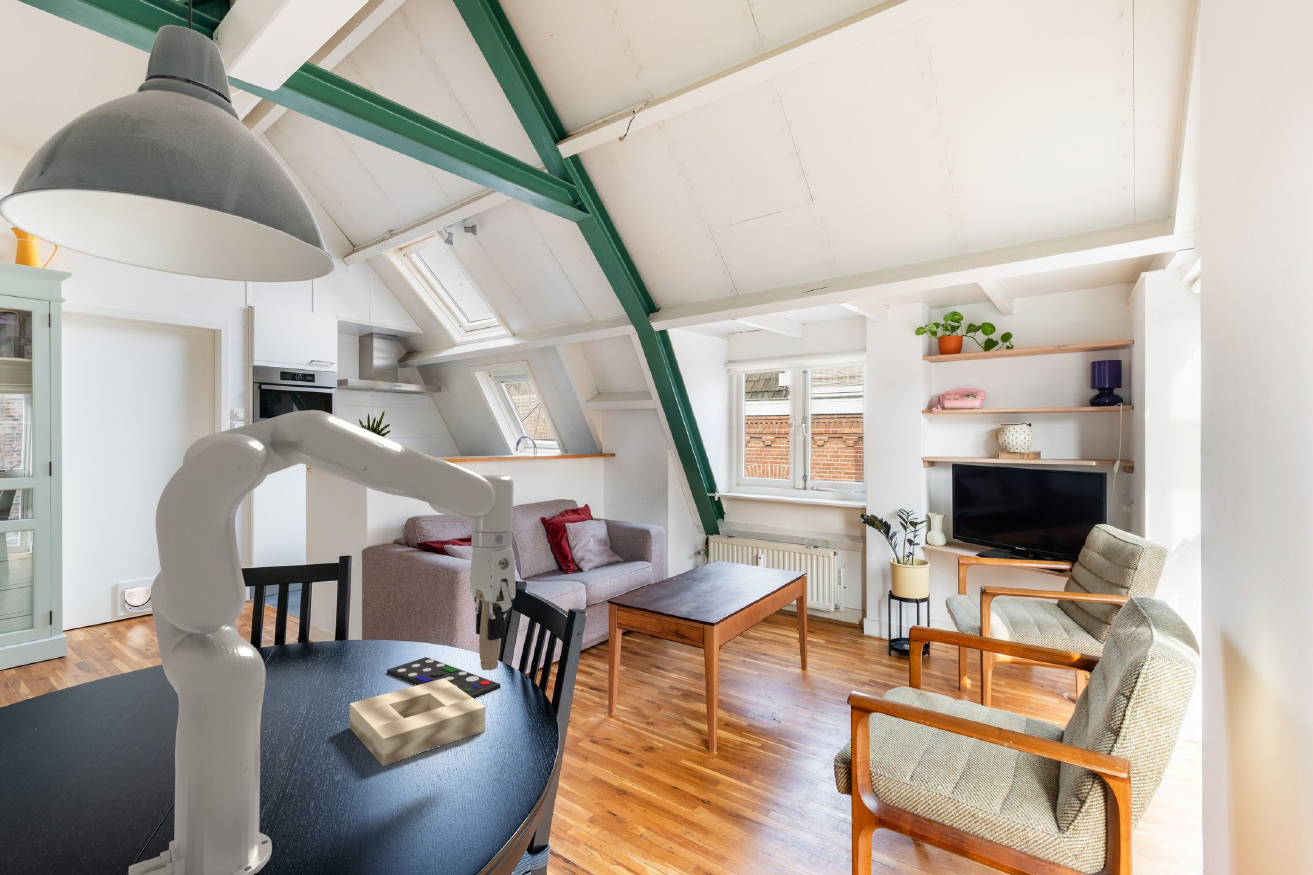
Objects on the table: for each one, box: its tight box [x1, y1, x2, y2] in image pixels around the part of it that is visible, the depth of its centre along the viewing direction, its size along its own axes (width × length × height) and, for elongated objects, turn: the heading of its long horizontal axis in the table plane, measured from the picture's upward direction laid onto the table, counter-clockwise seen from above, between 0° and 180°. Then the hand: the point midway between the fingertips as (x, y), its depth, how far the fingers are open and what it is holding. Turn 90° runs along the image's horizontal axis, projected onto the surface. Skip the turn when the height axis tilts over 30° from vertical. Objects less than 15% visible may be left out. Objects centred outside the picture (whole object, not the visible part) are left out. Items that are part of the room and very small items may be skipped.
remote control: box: [386, 656, 501, 699], centre depth 150 cm, size 11×30×2 cm, turn 54°
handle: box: [475, 590, 502, 671], centre depth 116 cm, size 5×6×15 cm
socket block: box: [349, 678, 486, 767], centre depth 124 cm, size 20×20×5 cm
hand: (489, 634), depth 116 cm, fingers closed on handle, 3 cm apart
